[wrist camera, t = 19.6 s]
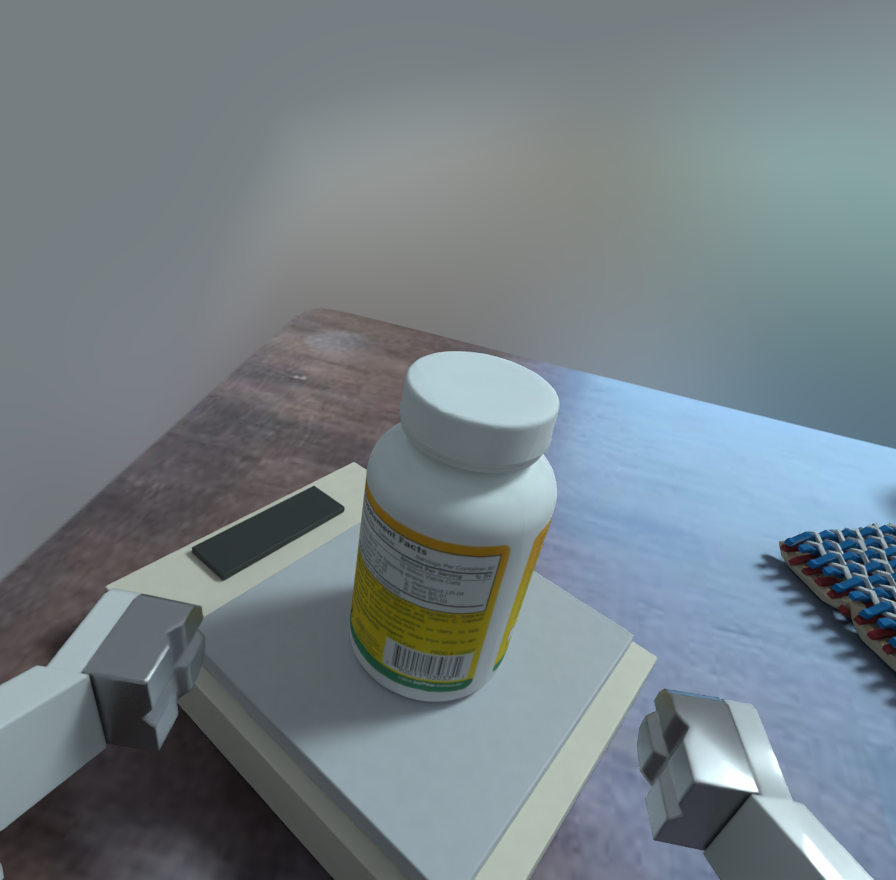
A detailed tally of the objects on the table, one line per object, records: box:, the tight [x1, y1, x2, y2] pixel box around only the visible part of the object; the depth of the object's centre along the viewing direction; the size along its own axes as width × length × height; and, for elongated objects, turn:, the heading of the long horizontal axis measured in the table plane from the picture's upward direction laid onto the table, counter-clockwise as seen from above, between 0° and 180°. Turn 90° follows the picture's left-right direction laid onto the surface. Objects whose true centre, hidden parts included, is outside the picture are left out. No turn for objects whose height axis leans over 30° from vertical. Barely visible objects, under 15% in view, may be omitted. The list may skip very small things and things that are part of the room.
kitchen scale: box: [105, 462, 657, 880], centre depth 22 cm, size 16×12×3 cm
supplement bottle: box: [349, 351, 559, 702], centre depth 18 cm, size 5×5×10 cm
